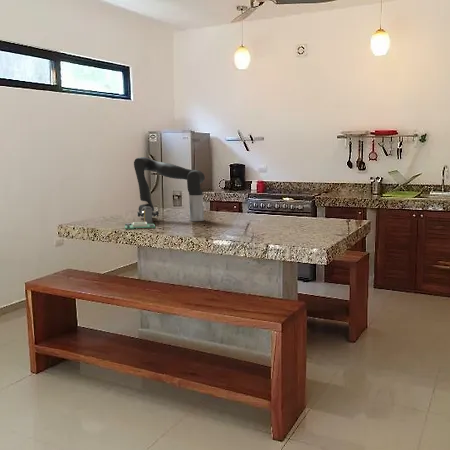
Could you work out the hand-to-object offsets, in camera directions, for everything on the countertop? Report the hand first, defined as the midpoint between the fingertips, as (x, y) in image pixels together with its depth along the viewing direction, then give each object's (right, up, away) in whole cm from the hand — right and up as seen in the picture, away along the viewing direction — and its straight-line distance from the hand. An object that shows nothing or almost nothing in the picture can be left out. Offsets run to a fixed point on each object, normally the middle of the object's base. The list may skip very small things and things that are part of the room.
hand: (148, 215), depth 324 cm
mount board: (-4, -8, -10) cm, 13 cm away
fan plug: (0, -6, +3) cm, 6 cm away
